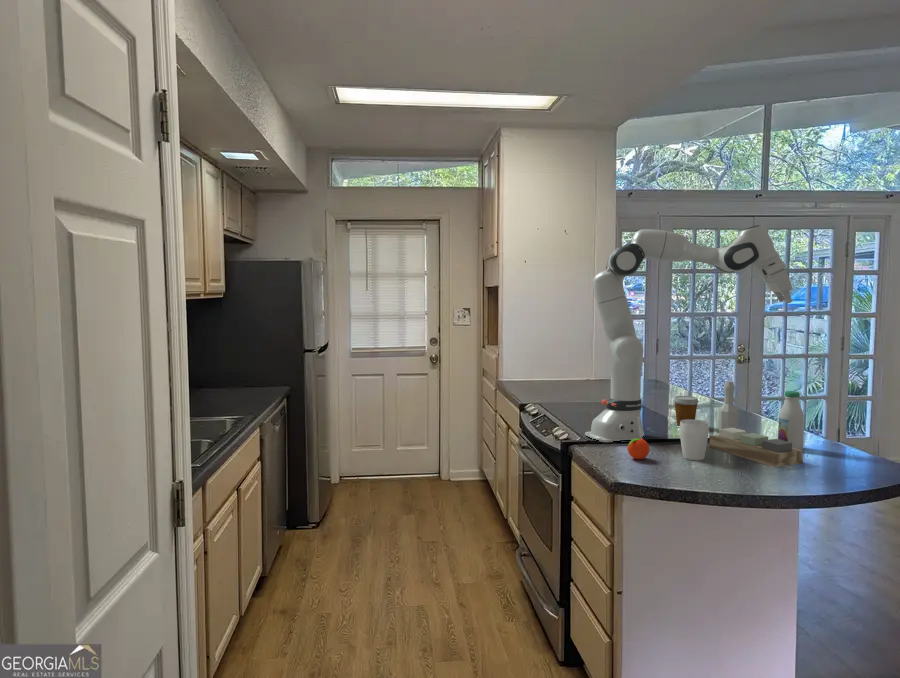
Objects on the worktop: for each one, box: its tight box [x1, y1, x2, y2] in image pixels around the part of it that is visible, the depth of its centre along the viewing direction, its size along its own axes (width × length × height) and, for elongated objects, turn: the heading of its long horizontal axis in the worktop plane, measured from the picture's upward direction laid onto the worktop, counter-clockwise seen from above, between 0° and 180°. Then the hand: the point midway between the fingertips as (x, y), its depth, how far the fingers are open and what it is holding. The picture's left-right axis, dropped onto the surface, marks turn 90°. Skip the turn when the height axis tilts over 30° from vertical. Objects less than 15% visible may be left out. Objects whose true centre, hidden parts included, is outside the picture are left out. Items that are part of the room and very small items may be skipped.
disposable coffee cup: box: [672, 395, 699, 427], centre depth 249 cm, size 10×10×12 cm
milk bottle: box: [777, 390, 805, 451], centre depth 214 cm, size 8×8×20 cm
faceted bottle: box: [717, 380, 740, 431], centre depth 225 cm, size 6×6×22 cm
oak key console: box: [709, 434, 804, 468], centre depth 207 cm, size 12×27×4 cm, turn 21°
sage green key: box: [740, 432, 769, 446], centre depth 207 cm, size 6×6×4 cm
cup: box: [679, 419, 710, 461], centre depth 204 cm, size 9×9×12 cm
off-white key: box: [719, 428, 748, 440], centre depth 215 cm, size 6×6×4 cm
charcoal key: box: [762, 438, 792, 453], centre depth 198 cm, size 6×6×4 cm
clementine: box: [627, 438, 650, 460], centre depth 203 cm, size 8×7×7 cm
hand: (786, 301), depth 221 cm, fingers open, 8 cm apart
